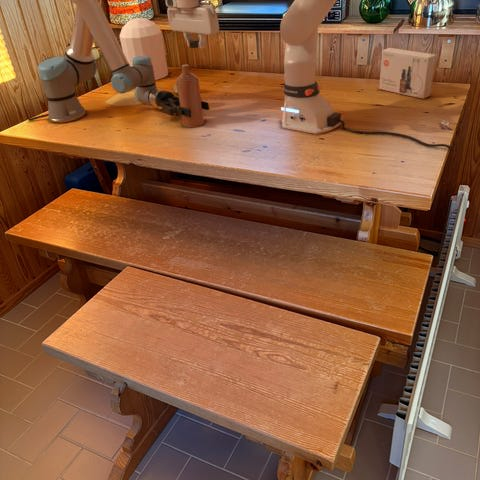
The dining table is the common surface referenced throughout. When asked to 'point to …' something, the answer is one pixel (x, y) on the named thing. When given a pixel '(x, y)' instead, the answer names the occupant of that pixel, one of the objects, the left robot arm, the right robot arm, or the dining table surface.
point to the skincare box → (407, 72)
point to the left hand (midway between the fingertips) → (199, 109)
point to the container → (144, 44)
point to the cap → (194, 43)
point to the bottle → (190, 97)
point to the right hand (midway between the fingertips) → (196, 47)
